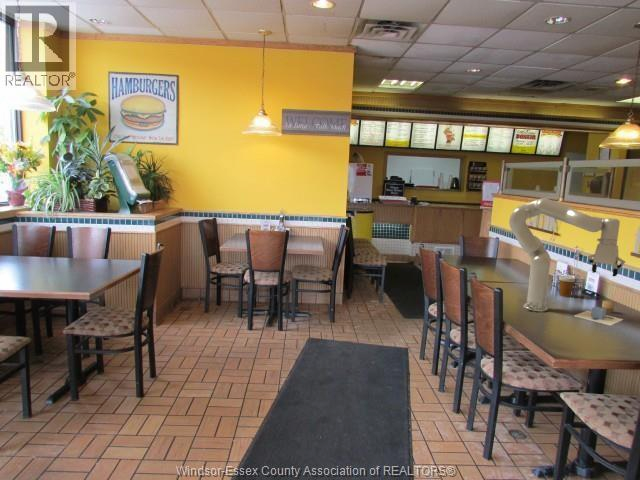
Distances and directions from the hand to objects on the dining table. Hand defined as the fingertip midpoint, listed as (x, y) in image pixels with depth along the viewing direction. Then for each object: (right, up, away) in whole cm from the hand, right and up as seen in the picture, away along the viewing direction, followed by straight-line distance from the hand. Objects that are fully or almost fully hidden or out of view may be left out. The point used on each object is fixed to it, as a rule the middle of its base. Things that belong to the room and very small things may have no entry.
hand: (604, 274), depth 237 cm
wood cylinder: (+12, -23, +16) cm, 30 cm away
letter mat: (-1, -24, +4) cm, 24 cm away
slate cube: (-1, -24, +4) cm, 24 cm away
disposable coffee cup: (+6, -18, +49) cm, 53 cm away
